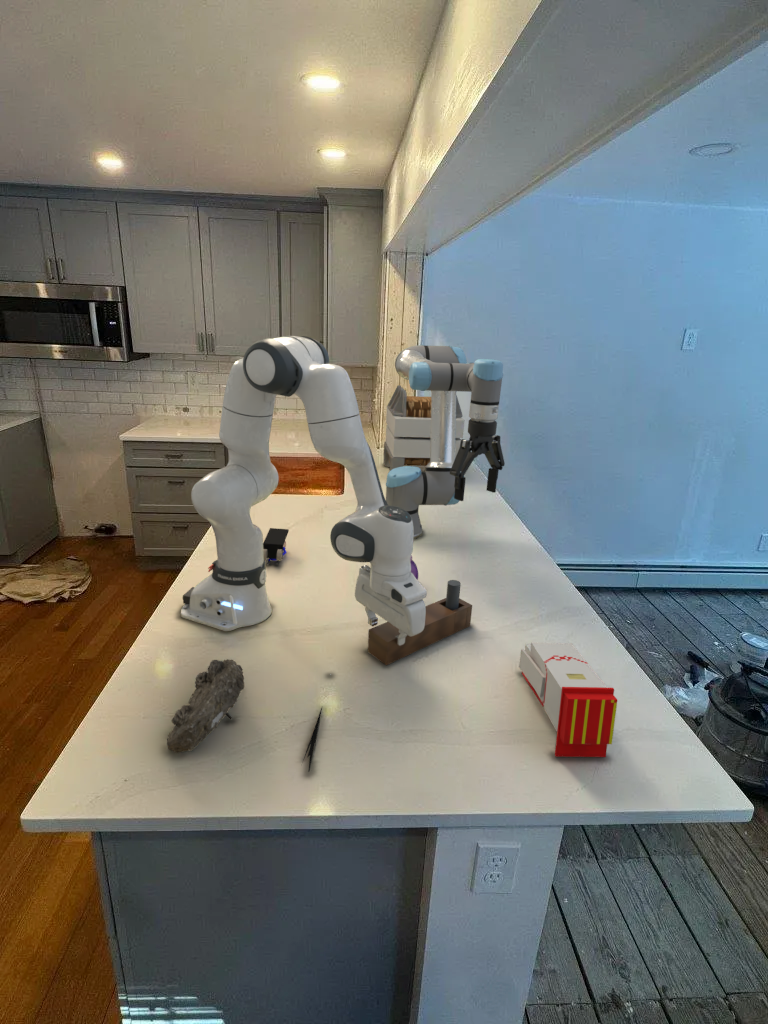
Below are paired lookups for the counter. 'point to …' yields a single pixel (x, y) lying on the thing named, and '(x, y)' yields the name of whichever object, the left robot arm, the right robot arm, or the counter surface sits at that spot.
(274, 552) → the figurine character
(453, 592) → the peg
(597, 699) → the toy
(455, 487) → the right robot arm
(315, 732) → the feather
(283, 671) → the counter surface
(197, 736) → the fossil
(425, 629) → the peg board
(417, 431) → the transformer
